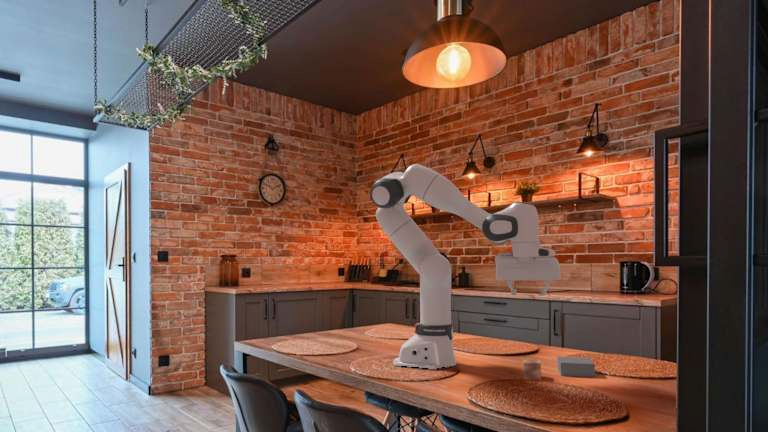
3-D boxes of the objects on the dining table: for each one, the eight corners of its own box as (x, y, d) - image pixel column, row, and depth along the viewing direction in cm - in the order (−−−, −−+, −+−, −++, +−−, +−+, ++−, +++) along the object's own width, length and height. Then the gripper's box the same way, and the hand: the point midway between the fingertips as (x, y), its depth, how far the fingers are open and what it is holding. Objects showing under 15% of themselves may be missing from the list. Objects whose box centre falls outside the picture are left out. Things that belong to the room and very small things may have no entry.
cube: (524, 379, 151) (523, 362, 151) (523, 375, 156) (523, 359, 156) (541, 380, 150) (540, 363, 150) (540, 376, 154) (539, 360, 155)
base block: (561, 375, 154) (560, 362, 155) (557, 368, 164) (557, 356, 164) (595, 377, 152) (594, 364, 152) (589, 369, 162) (589, 357, 162)
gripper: (492, 252, 160) (494, 295, 159) (557, 250, 151) (560, 295, 150) (496, 252, 166) (499, 293, 165) (560, 250, 157) (562, 294, 156)
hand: (528, 294), depth 157 cm, fingers open, 8 cm apart
